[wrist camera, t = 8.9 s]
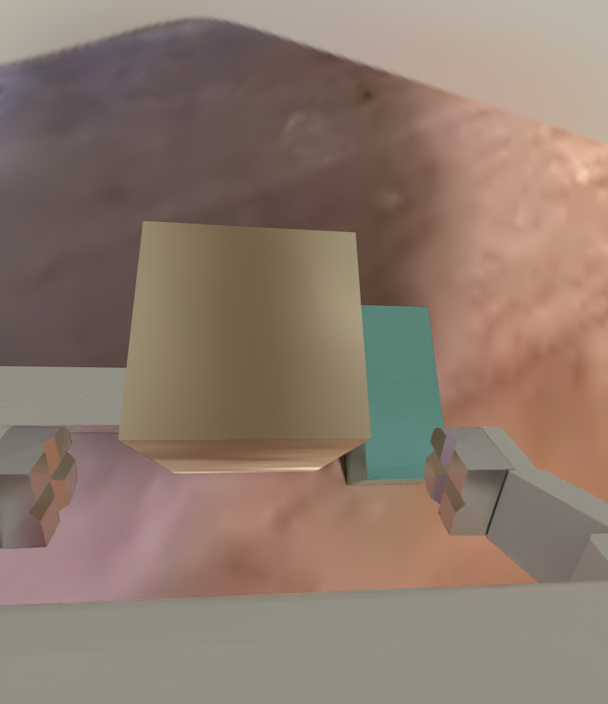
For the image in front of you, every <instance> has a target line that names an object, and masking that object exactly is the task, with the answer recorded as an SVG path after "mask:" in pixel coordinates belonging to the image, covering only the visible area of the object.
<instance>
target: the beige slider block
mask: <svg viewBox="0 0 608 704" xmlns="http://www.w3.org/2000/svg"><path fill="white" fill-rule="evenodd" d="M370 439H371V430H370V416H369V403H368V390H367V377H366V363H365V350H364V337H363V324H362V310H361V297H360V284H359V271H358V258H357V244H356V232H338V231H319V230H301V229H283V228H264V227H246V226H227V225H209V224H191V223H172V222H154V221H143V226H142V235H141V244H140V252H139V261H138V270H137V279H136V288H135V296H134V305H133V314H132V323H131V332H130V340H129V349H128V358H127V367H126V376H125V384H124V393H123V402H122V411H121V420H120V428H119V437H118V440H119V441H120V442H122V443H124V444H126V445H127V446H129V447H131V448H132V449H134V450H136V451H138V452H139V453H141V454H143V455H144V456H146V457H148V458H150V459H151V460H153V461H155V462H156V463H158V464H160V465H162V466H163V467H165V468H167V469H168V470H170V471H172V472H174V473H235V472H300V471H316V470H318V469H320V468H322V467H323V466H325V465H327V464H328V463H330V462H332V461H334V460H335V459H337V458H339V457H341V456H342V455H344V454H346V453H347V452H349V451H351V450H353V449H354V448H356V447H358V446H359V445H361V444H363V443H365V442H366V441H368V440H370Z"/></svg>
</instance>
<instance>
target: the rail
mask: <svg viewBox="0 0 608 704" xmlns="http://www.w3.org/2000/svg"><path fill="white" fill-rule="evenodd" d="M361 310H362V324H363V337H364V350H365V363H366V377H367V390H368V403H369V416H370V430H371V439H370V440H368V441H366V442H365V443H363V444H361V445H359V446H358V447H356V448H354V449H353V450H351V451H349V452H347V453H346V454H345V461H346V479H347V485H386V484H419V483H425V473H424V468H425V463H426V458H427V457H428V456H429V455H430V454H431V453H432V452H433V451H434V448H433V446H432V445H431V443H430V441H431V436H432V433H433V431H434V429H435V428H442V427H444V426H443V419H442V411H441V403H440V396H439V388H438V380H437V373H436V365H435V358H434V350H433V342H432V335H431V327H430V319H429V312H428V307H409V306H379V305H361ZM125 376H126V368H99V367H27V366H0V425H13V426H16V425H20V426H65V427H66V428H67V429H68V430H69V432H70V433H119V428H120V420H121V411H122V402H123V393H124V384H125Z"/></svg>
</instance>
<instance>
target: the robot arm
mask: <svg viewBox="0 0 608 704" xmlns="http://www.w3.org/2000/svg"><path fill="white" fill-rule="evenodd" d="M430 443H431V445H432V446H433V448H434V451H433V452H432V453H431V454H430V455H429V456H428V457H427V458H426V463H425V468H424V473H425V483H426V487H427V490H428V493H429V495H430V497H431V498H432V499H433V500H435V501H436V502H437V503H439V504H440V507H439V511H438V514H439V516H440V518H441V520H442V522H443V524H444V526H445V528H446V530H447V532H448V534H449V536H487V537H486V538H487V539H489V540H490V541H491V542H492V543H493V544H494V545H496V546H497V547H498V548H499V549H500V550H501V551H503V552H504V553H505V554H506V555H507V556H508V557H510V558H511V559H512V560H513V561H514V562H515V563H517V564H518V565H519V566H520V567H521V568H522V569H524V570H525V571H526V572H527V573H528V574H529V575H531V576H532V577H533V578H534V579H535V580H536V581H538V582H539V583H529V584H507V585H485V586H461V587H436V588H410V589H384V590H359V591H333V592H309V593H285V594H262V595H238V596H214V597H191V598H167V599H143V600H119V601H95V602H71V603H46V604H22V605H0V704H608V503H607V502H605V501H603V500H601V499H599V498H598V497H596V496H594V495H592V494H590V493H588V492H586V491H584V490H582V489H580V488H578V487H576V486H574V485H573V484H571V483H569V482H567V481H565V480H563V479H561V478H559V477H557V476H555V475H553V474H551V473H550V472H548V471H546V470H538V469H537V468H536V467H535V466H534V465H533V463H532V462H531V461H530V460H529V459H528V458H527V456H526V455H525V454H524V453H523V452H522V451H521V449H520V448H519V447H518V446H517V445H516V444H515V442H514V441H513V440H512V439H511V438H510V437H509V435H508V434H507V433H506V432H505V431H504V430H503V429H502V428H500V427H498V426H479V427H442V428H435V429H434V431H433V433H432V436H431V441H430ZM71 444H72V440H71V436H70V432H69V430H68V429H67V428H66V427H65V426H20V425H16V426H13V425H0V549H16V548H34V547H47V545H48V543H49V541H50V539H51V537H52V535H53V533H54V532H55V530H56V528H57V526H58V524H59V522H60V517H59V512H58V511H59V510H61V509H62V508H64V507H65V506H67V505H68V504H69V502H70V500H71V498H72V496H73V494H74V491H75V486H76V482H77V467H76V461H75V459H74V458H73V457H72V456H70V455H69V454H68V453H67V451H68V449H69V447H70V446H71Z"/></svg>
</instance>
